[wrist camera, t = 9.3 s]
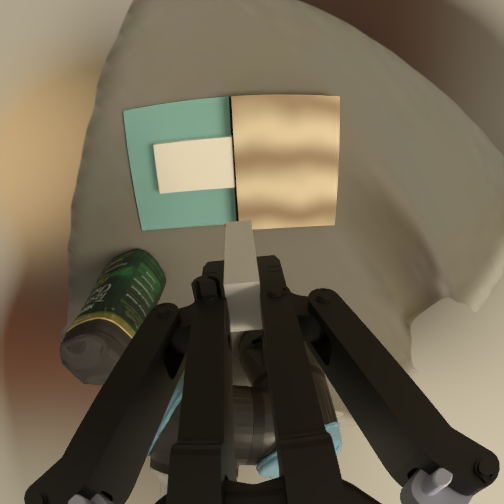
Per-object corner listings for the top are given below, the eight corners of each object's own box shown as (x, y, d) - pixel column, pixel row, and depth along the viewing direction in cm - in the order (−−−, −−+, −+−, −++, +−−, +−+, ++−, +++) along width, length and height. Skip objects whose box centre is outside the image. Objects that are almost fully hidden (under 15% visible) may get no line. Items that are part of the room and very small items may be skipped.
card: (234, 183, 36) (234, 187, 34) (162, 189, 35) (159, 193, 34) (231, 135, 33) (231, 136, 31) (156, 142, 32) (153, 145, 31)
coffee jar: (144, 238, 39) (96, 335, 23) (174, 281, 43) (149, 386, 26) (96, 265, 41) (43, 356, 24) (127, 303, 44) (91, 398, 28)
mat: (236, 222, 39) (236, 223, 38) (143, 229, 38) (142, 230, 38) (228, 96, 31) (228, 96, 30) (124, 110, 30) (123, 110, 30)
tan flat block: (329, 217, 39) (334, 225, 37) (239, 222, 39) (239, 230, 36) (332, 96, 31) (339, 96, 29) (231, 96, 31) (231, 96, 28)
